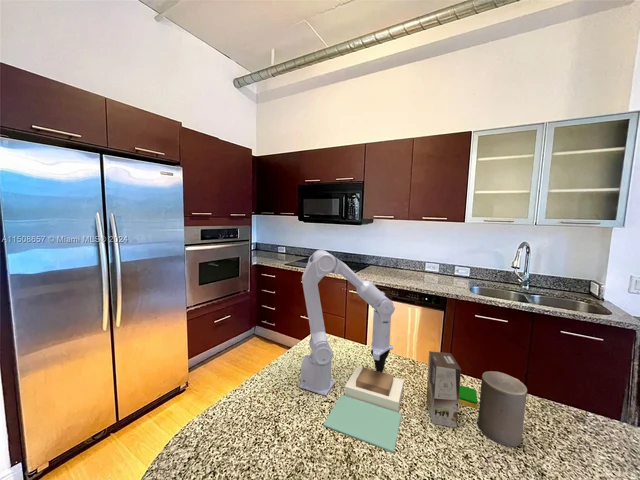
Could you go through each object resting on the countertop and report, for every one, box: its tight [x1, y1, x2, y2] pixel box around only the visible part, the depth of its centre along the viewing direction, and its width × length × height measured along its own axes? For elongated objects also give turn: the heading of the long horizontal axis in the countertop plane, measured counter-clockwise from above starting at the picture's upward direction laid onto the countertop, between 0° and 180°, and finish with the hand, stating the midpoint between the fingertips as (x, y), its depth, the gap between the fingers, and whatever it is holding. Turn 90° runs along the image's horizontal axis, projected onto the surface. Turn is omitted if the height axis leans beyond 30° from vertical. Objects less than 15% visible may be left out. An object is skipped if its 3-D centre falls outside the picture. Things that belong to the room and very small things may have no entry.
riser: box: [344, 367, 405, 413], centre depth 83 cm, size 16×12×3 cm
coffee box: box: [426, 351, 462, 428], centre depth 74 cm, size 9×6×16 cm
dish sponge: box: [458, 384, 479, 410], centre depth 83 cm, size 7×14×2 cm, turn 63°
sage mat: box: [322, 394, 403, 454], centre depth 71 cm, size 18×14×1 cm
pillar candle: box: [477, 370, 528, 448], centre depth 68 cm, size 10×10×15 cm
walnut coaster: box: [356, 367, 394, 396], centre depth 83 cm, size 10×8×2 cm
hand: (379, 370), depth 89 cm, fingers closed
